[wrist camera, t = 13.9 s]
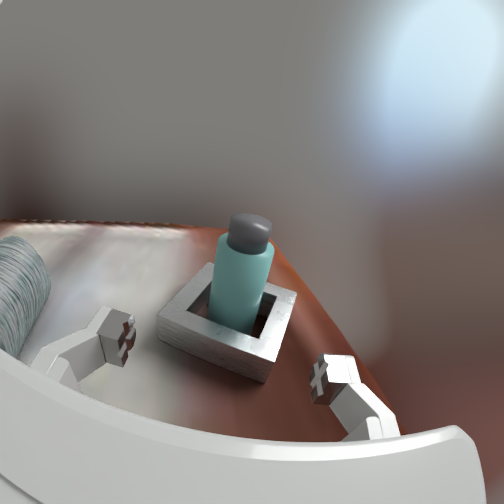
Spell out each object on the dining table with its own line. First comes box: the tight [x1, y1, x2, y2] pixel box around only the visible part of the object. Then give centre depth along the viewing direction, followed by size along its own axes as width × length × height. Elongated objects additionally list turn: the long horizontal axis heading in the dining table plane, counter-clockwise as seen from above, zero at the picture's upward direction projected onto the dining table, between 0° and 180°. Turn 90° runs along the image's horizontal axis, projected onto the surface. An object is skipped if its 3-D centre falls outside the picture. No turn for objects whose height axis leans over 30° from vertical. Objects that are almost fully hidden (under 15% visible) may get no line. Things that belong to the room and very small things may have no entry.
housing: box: [157, 262, 297, 383], centre depth 25 cm, size 10×10×3 cm
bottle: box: [207, 213, 274, 336], centre depth 23 cm, size 4×4×11 cm
